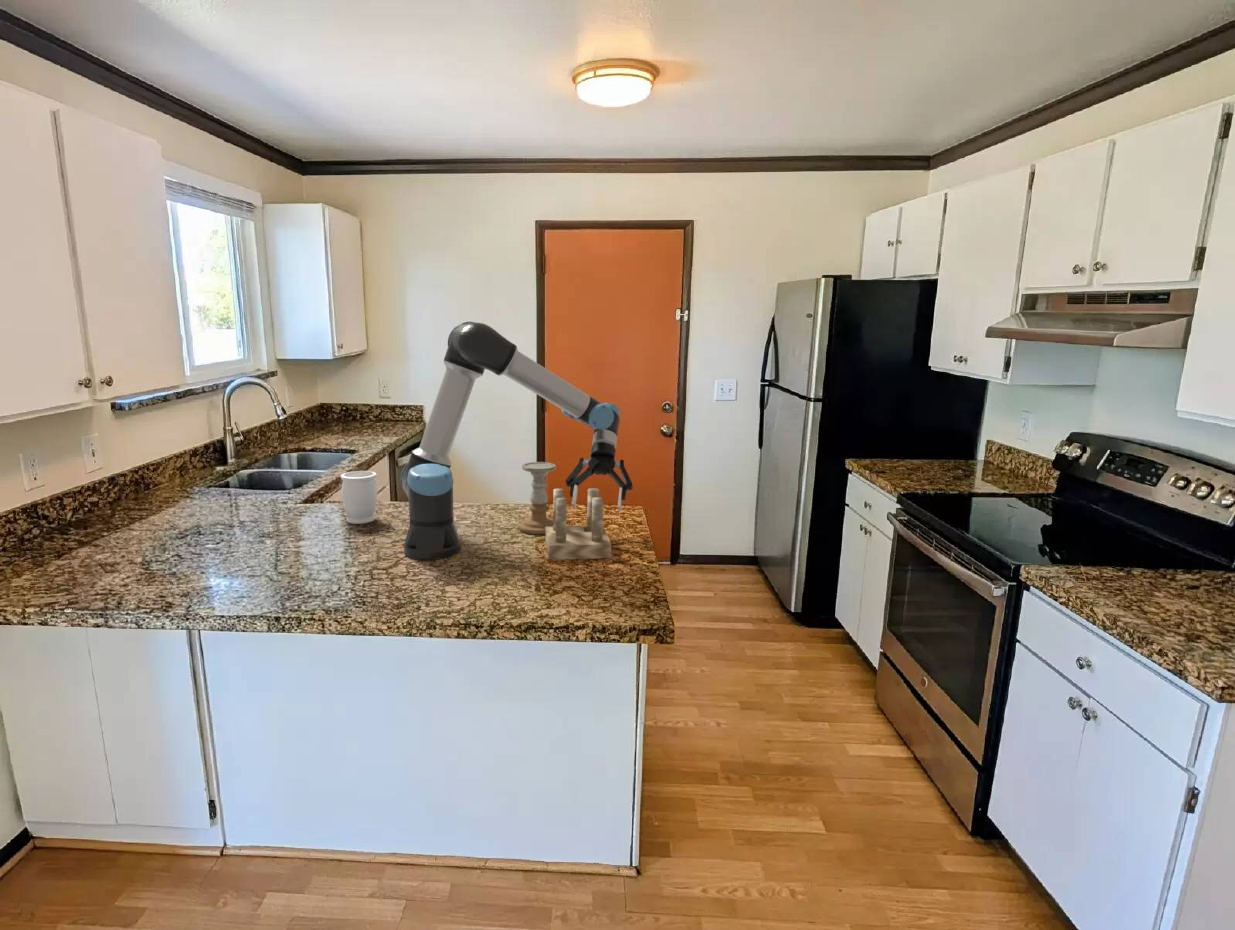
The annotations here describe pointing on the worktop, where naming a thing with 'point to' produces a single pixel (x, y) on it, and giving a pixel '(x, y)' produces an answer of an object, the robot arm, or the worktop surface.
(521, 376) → the robot arm
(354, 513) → the jar
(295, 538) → the worktop surface
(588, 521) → the stool leg
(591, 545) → the stool
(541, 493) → the candle holder
